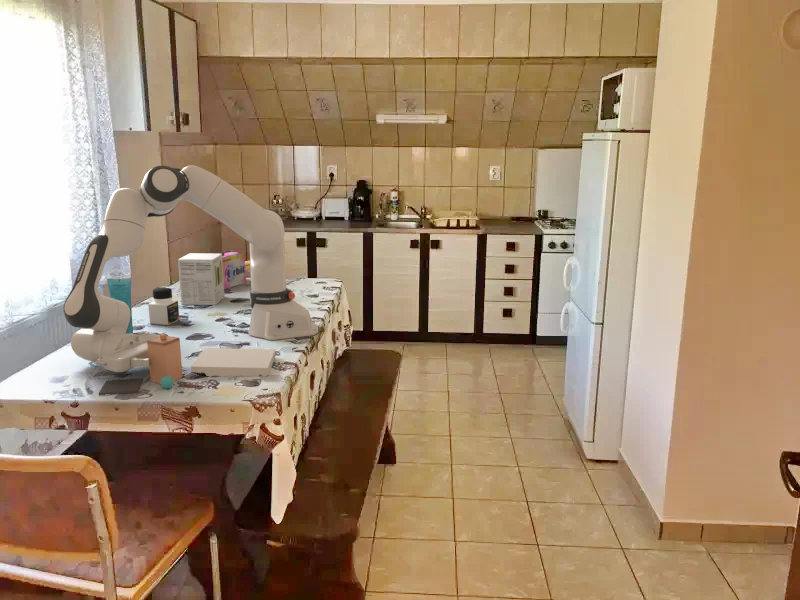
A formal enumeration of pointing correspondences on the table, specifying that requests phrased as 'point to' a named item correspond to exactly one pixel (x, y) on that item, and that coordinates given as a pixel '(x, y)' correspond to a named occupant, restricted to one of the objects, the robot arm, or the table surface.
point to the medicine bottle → (163, 307)
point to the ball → (167, 382)
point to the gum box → (233, 268)
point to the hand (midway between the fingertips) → (163, 357)
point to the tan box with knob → (165, 358)
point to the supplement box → (201, 278)
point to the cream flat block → (234, 362)
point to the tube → (121, 293)
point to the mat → (121, 386)
